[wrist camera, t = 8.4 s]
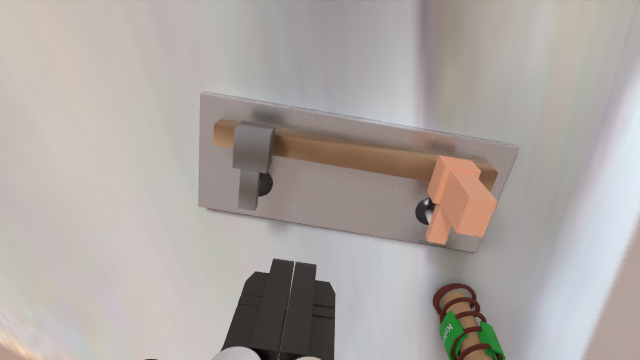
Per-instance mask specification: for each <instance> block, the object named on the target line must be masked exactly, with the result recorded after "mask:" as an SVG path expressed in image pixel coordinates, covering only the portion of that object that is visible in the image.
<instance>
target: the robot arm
mask: <svg viewBox="0 0 640 360" xmlns="http://www.w3.org/2000/svg"><path fill="white" fill-rule="evenodd" d="M293 267H294V261H287V260H280V259H273V262H272V265H271V269H270V273H263V272H256V271H255V272H254V273H253V274H252V275H251V276H250V277H249V278H248V279H247V280H246V282H245V285H244V288H243V290H242V293H241V296H240V299H239V302H238V306H237V308H236V311H235V314H234V316H233V319H232V322H231V325H230V328H229V331H228V334H227V337H226V340H225V342H224V345H223V347H222V349H221V351H220V352H219V353H218V354H217V355H216V356H215V357H214V358H213V359H212V360H278V359H279V360H334V336H335V292H334V290H333V288H332V286H331V284H330V282H324V281H318V280H315V276H316V265H315V264H308V263H301V262H296V264H295V270H294V276H293V281H292V274H293ZM291 282H292V287H291ZM290 289H291V292H290ZM289 296H290V298H289ZM288 302H289V304H288ZM286 314H287V315H286ZM285 320H286V321H285ZM283 331H284V332H283ZM282 337H283V338H282ZM280 348H281V349H280ZM279 354H280V355H279ZM147 360H156V359H147Z"/></svg>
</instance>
